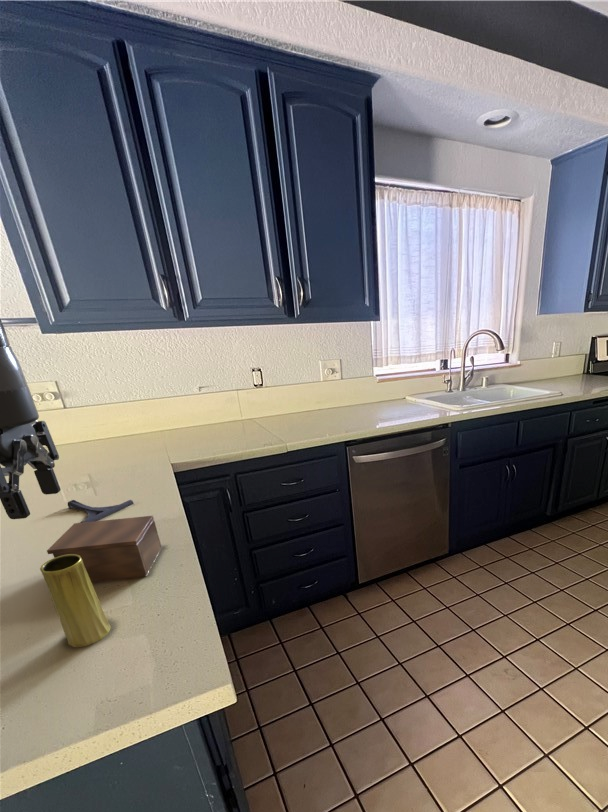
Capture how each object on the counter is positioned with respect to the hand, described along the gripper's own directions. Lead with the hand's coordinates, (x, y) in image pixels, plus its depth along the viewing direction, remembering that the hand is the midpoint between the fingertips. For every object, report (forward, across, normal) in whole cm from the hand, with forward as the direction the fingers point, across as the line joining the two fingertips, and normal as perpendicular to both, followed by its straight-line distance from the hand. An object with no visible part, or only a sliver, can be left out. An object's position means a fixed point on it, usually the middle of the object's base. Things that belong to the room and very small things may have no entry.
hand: (37, 504), depth 60 cm
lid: (+16, -22, -3) cm, 27 cm away
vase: (+24, 0, 0) cm, 24 cm away
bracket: (+24, -54, -20) cm, 62 cm away
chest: (+24, -22, -3) cm, 33 cm away
